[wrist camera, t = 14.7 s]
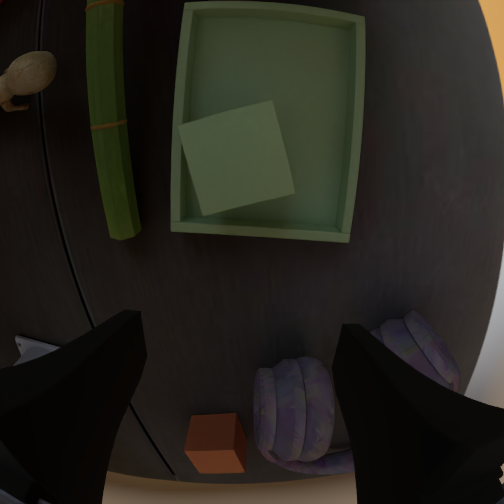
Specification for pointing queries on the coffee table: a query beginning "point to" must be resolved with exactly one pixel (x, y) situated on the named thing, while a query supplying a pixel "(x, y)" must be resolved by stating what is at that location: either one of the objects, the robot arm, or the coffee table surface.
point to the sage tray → (286, 106)
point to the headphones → (332, 397)
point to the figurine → (26, 78)
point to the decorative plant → (110, 116)
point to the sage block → (237, 158)
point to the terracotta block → (216, 443)
